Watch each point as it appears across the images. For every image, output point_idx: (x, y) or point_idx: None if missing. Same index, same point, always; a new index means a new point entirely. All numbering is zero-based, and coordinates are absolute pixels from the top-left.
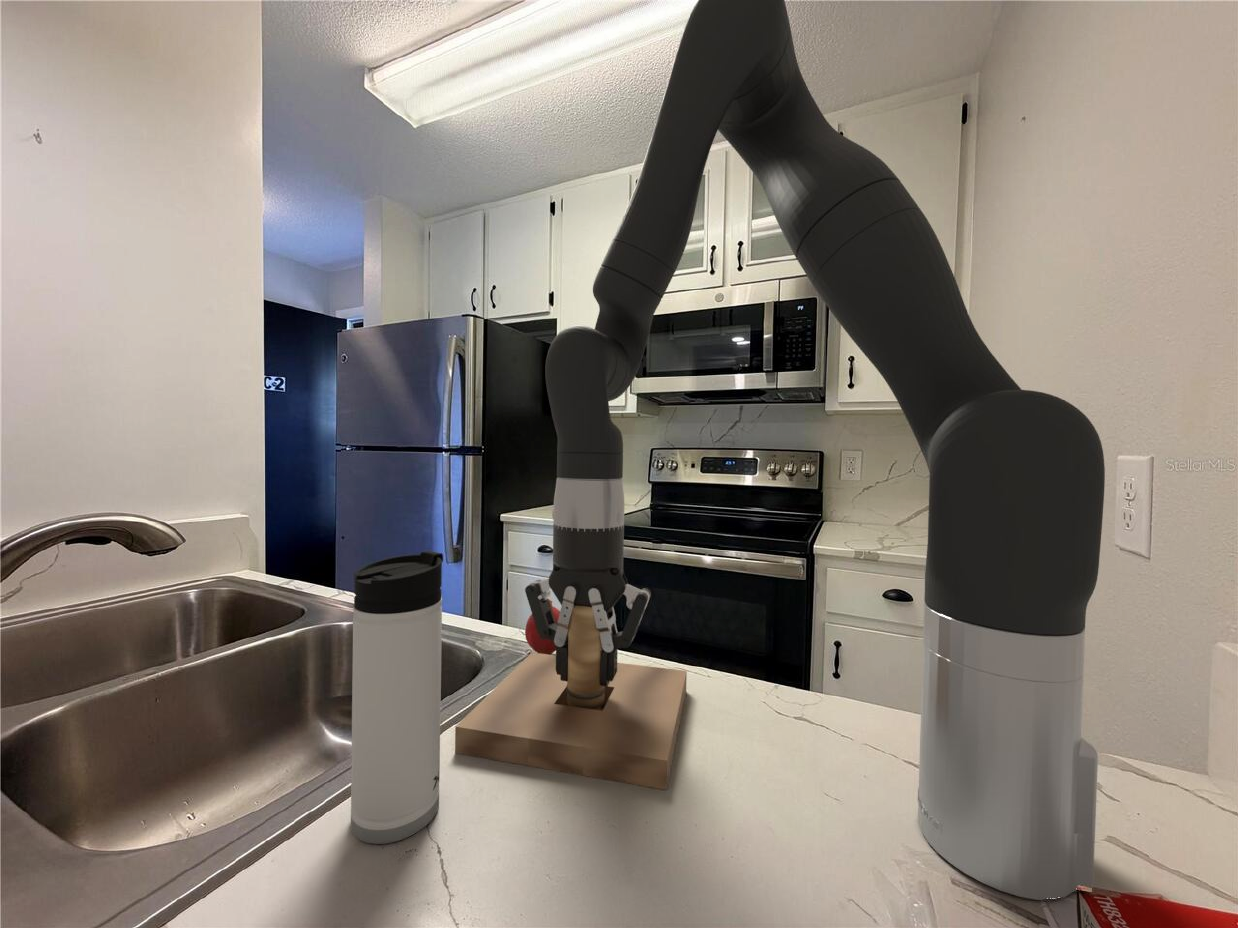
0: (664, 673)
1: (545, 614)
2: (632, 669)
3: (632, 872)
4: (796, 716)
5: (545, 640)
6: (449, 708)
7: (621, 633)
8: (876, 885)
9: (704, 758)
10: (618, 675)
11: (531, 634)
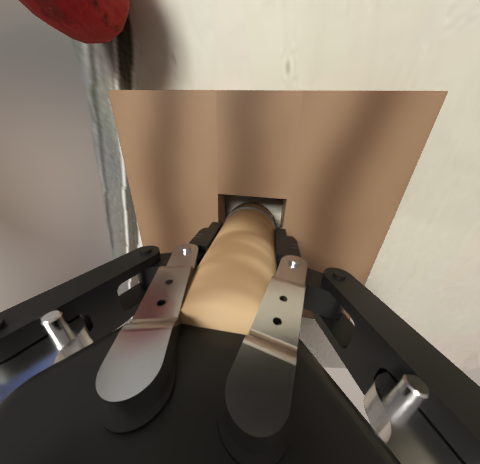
0: (386, 121)
1: (126, 310)
2: (316, 119)
3: (310, 351)
4: None
5: (100, 36)
6: (113, 221)
7: (319, 302)
8: (464, 360)
9: (386, 266)
10: (289, 155)
11: (57, 28)
